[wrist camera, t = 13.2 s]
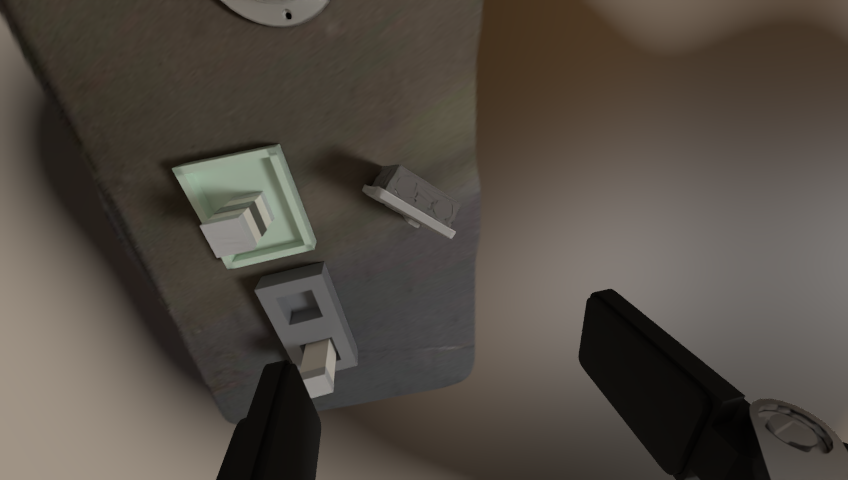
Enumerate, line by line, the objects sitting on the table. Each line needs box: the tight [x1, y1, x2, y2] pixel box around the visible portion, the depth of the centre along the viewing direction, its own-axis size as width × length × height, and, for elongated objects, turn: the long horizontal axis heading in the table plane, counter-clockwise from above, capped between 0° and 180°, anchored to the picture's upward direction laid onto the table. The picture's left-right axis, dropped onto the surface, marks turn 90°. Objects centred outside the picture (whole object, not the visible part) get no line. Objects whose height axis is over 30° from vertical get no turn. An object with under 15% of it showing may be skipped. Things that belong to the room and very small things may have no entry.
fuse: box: [300, 337, 337, 398], centre depth 41 cm, size 3×3×8 cm
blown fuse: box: [200, 191, 275, 258], centre depth 32 cm, size 3×3×8 cm
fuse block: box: [254, 262, 358, 372], centre depth 42 cm, size 16×8×3 cm, turn 10°
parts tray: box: [172, 144, 317, 270], centre depth 35 cm, size 12×10×2 cm
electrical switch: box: [362, 165, 462, 239], centre depth 34 cm, size 9×5×9 cm, turn 55°
